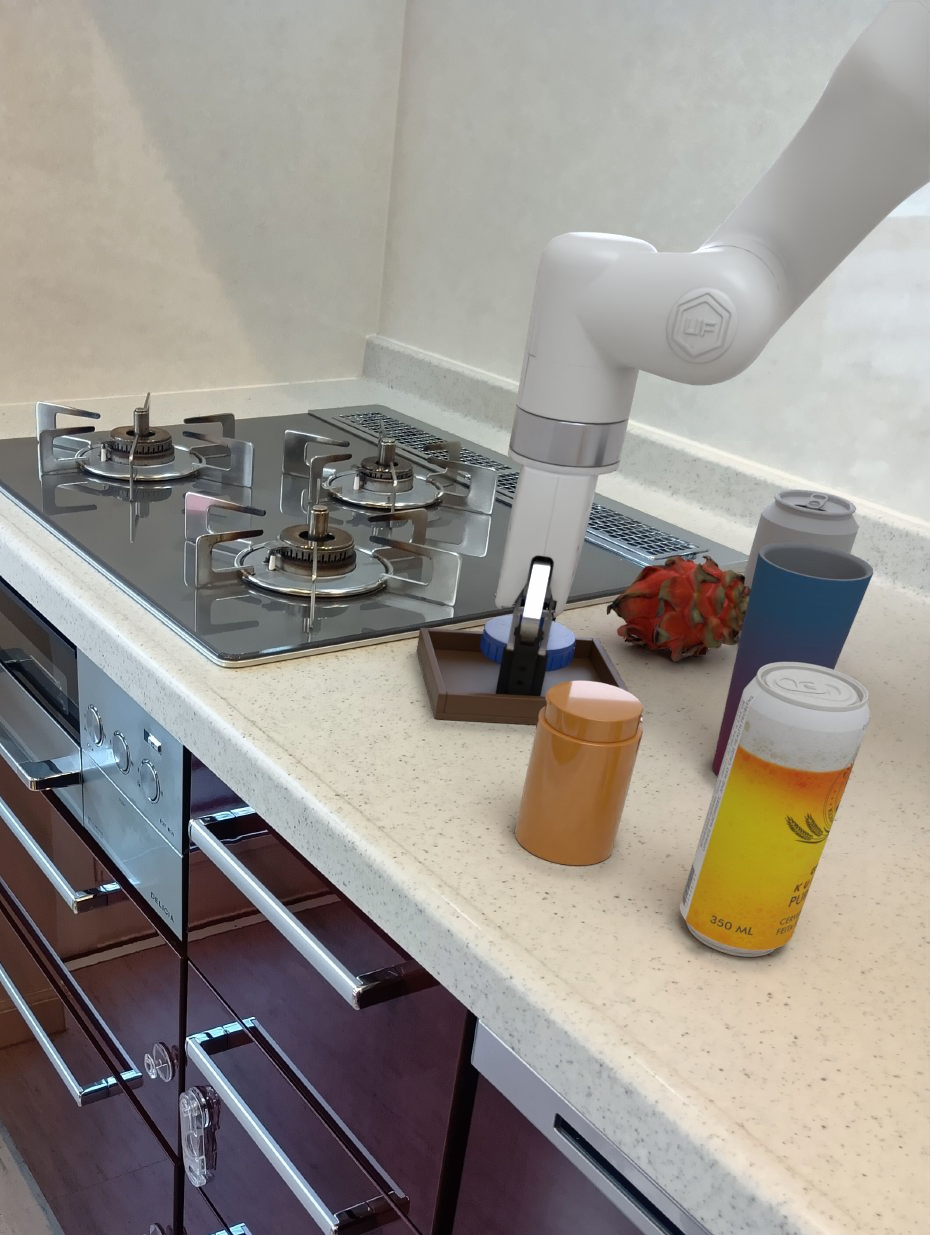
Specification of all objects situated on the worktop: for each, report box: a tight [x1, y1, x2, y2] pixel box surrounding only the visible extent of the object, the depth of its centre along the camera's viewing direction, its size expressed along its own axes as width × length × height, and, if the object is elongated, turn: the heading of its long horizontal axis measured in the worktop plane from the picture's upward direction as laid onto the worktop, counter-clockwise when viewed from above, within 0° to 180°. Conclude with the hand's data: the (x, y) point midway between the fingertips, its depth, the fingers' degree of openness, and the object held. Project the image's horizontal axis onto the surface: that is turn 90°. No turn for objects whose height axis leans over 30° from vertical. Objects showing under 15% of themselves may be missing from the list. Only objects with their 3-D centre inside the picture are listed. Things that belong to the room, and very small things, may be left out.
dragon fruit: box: [606, 554, 751, 662], centre depth 105 cm, size 8×8×12 cm
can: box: [737, 488, 860, 639], centre depth 107 cm, size 8×8×12 cm
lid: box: [480, 614, 577, 672], centre depth 96 cm, size 7×7×2 cm
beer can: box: [679, 662, 871, 958], centre depth 69 cm, size 6×6×15 cm
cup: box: [711, 542, 874, 776], centre depth 85 cm, size 7×7×15 cm
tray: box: [416, 627, 630, 726], centre depth 98 cm, size 14×12×2 cm
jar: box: [514, 681, 644, 866], centre depth 77 cm, size 6×6×9 cm
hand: (521, 680), depth 98 cm, fingers closed on lid, 6 cm apart
